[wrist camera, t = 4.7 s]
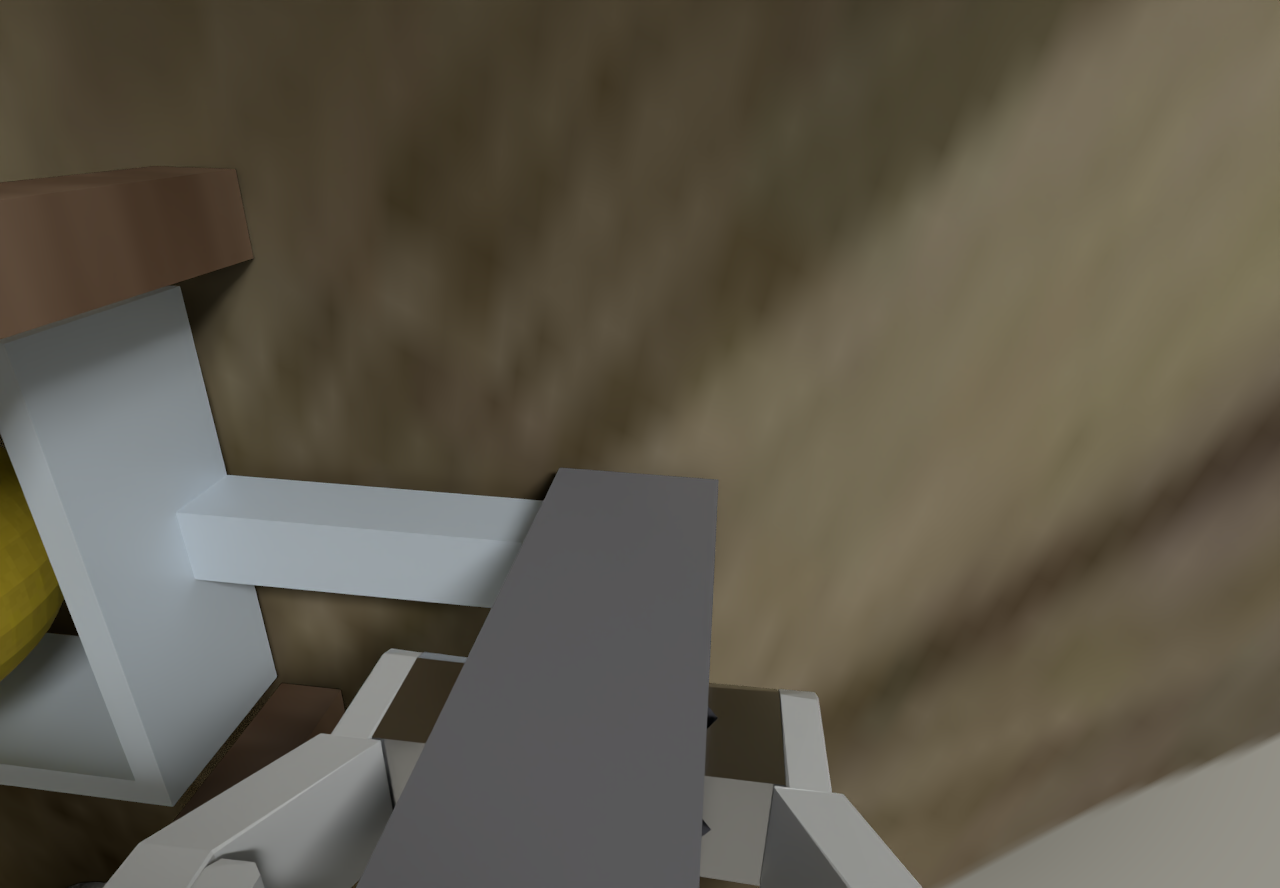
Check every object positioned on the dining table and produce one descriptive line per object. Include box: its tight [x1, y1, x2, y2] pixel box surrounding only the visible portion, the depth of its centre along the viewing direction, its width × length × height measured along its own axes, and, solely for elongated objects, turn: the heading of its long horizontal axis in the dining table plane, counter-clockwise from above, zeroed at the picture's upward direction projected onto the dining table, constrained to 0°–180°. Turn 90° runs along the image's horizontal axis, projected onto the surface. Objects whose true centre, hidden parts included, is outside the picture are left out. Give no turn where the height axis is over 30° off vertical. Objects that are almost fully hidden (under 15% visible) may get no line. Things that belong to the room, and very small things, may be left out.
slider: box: [0, 285, 718, 888], centre depth 11 cm, size 19×9×9 cm, turn 88°
